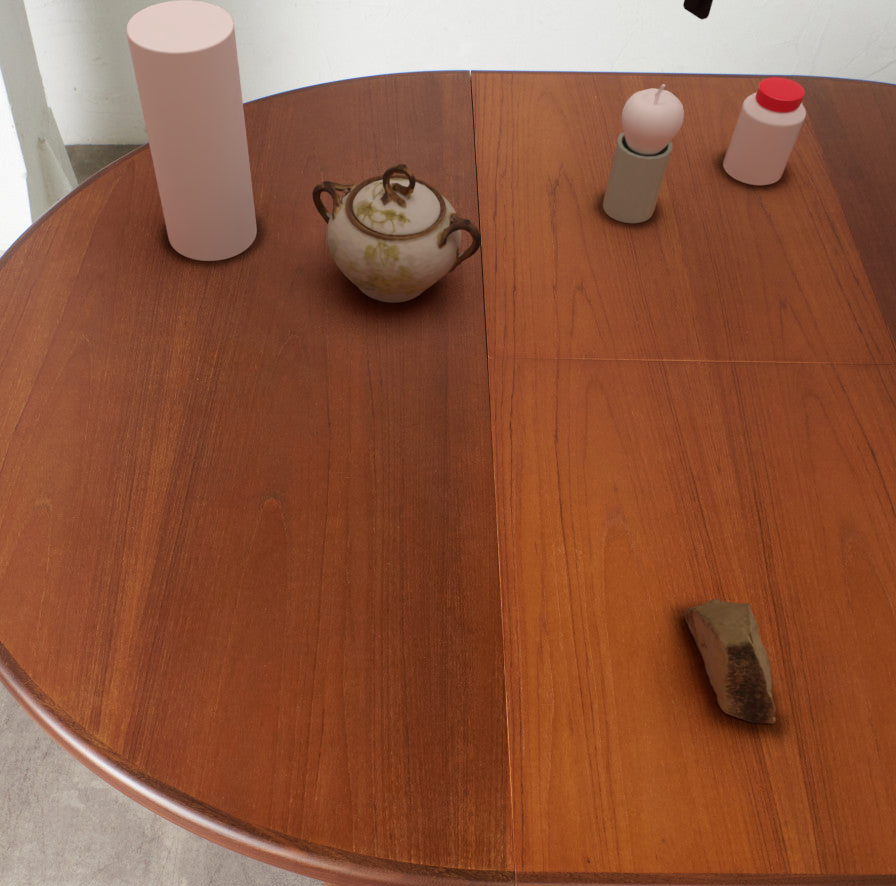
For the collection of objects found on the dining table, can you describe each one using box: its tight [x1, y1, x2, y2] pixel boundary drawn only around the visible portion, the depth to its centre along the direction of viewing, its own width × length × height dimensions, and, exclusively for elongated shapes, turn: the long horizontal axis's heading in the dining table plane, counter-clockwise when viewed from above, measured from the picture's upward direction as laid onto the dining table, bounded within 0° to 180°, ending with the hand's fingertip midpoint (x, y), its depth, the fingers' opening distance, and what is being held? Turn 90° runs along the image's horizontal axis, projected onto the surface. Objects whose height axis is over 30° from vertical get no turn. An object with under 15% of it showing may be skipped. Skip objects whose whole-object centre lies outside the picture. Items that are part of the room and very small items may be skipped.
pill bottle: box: [722, 76, 807, 186], centre depth 120 cm, size 8×8×11 cm
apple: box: [620, 83, 685, 155], centre depth 108 cm, size 7×7×8 cm
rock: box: [683, 598, 777, 725], centre depth 78 cm, size 11×9×10 cm
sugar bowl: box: [311, 163, 482, 304], centre depth 103 cm, size 20×15×15 cm
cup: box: [602, 131, 673, 224], centre depth 115 cm, size 6×6×9 cm
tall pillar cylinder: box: [125, 0, 258, 262], centre depth 104 cm, size 11×11×25 cm
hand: (731, 2), depth 97 cm, fingers open, 9 cm apart
